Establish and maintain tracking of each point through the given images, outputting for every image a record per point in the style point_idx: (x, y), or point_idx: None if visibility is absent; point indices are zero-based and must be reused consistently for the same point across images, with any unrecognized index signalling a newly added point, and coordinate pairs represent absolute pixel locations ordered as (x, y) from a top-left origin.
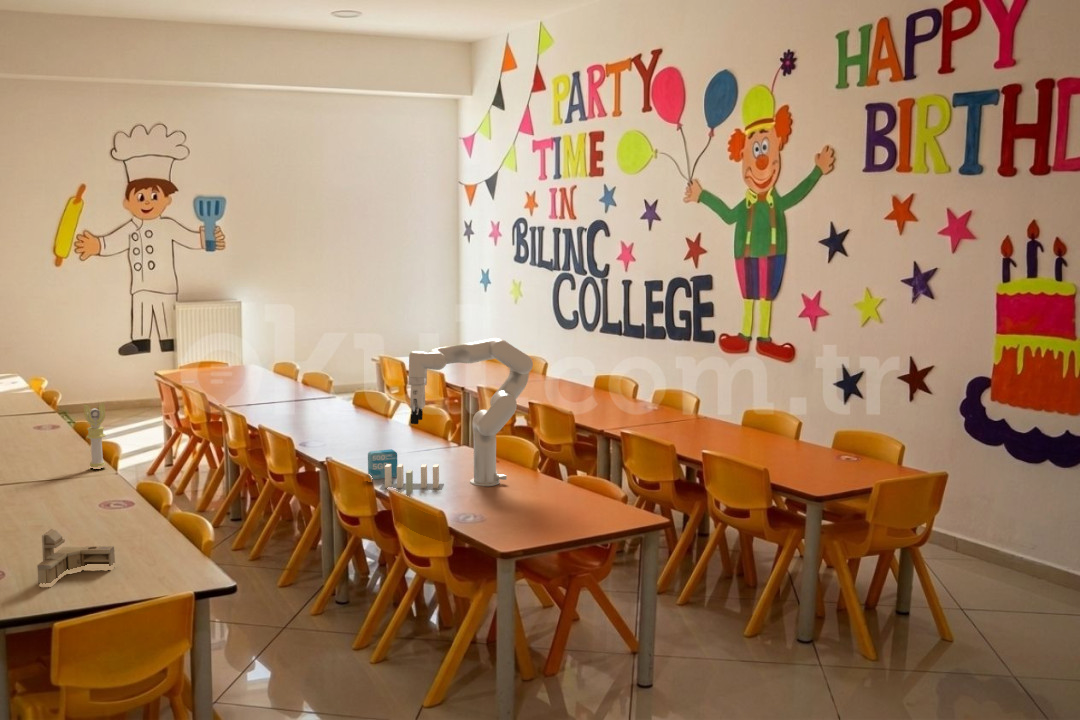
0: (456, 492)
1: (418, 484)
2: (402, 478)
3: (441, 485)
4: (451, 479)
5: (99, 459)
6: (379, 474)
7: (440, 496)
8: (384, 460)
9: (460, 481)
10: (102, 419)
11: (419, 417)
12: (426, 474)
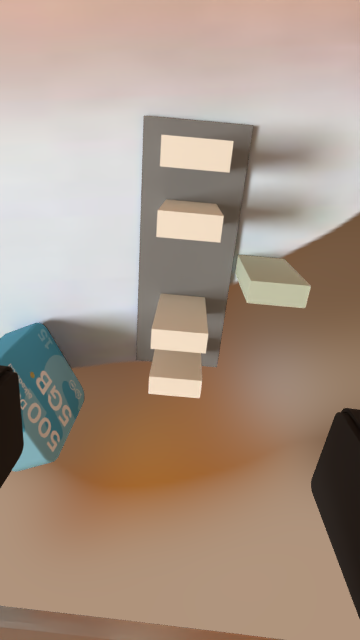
0: (290, 43)
1: (155, 237)
2: (184, 307)
3: (176, 130)
4: (41, 80)
5: None
6: (67, 382)
7: (344, 129)
8: (37, 398)
9: (76, 24)
10: None
11: (2, 419)
12: (186, 206)
